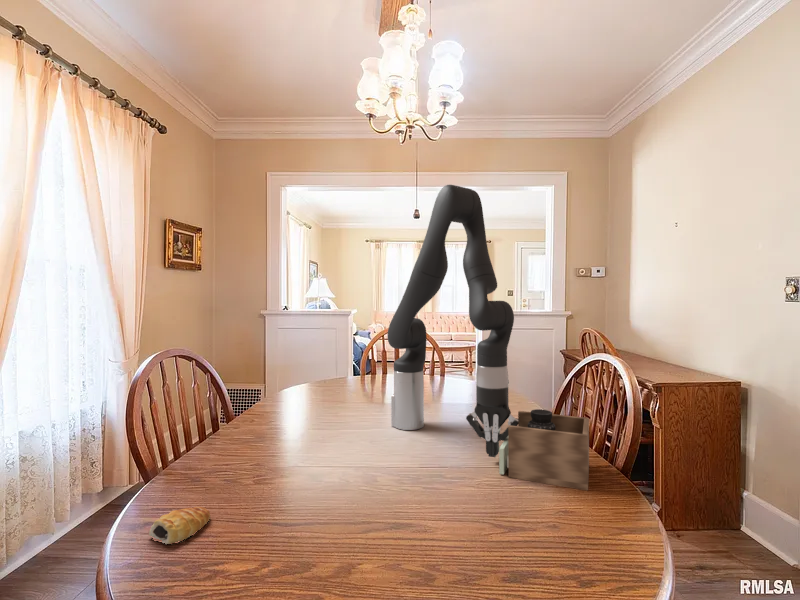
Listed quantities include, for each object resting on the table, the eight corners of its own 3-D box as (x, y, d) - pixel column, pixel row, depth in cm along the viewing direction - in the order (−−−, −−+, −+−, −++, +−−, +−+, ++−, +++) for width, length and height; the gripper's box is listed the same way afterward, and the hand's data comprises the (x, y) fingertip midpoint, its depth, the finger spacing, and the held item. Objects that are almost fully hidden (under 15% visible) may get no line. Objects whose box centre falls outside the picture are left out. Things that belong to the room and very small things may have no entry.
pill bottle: (557, 466, 93) (557, 416, 93) (529, 464, 95) (528, 414, 95) (553, 455, 100) (553, 408, 99) (526, 453, 101) (526, 407, 101)
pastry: (194, 514, 79) (194, 493, 79) (220, 522, 76) (220, 501, 76) (145, 540, 70) (145, 517, 70) (172, 551, 67) (172, 527, 67)
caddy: (508, 477, 93) (508, 426, 93) (519, 455, 106) (518, 410, 106) (587, 490, 87) (587, 436, 86) (589, 465, 99) (588, 418, 99)
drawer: (499, 473, 94) (499, 448, 94) (510, 453, 107) (510, 430, 107) (576, 486, 88) (576, 459, 88) (578, 463, 100) (578, 439, 100)
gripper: (460, 384, 101) (461, 457, 101) (517, 389, 95) (518, 466, 95) (469, 379, 108) (470, 447, 108) (523, 383, 102) (523, 454, 102)
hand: (492, 455), depth 102 cm, fingers closed
